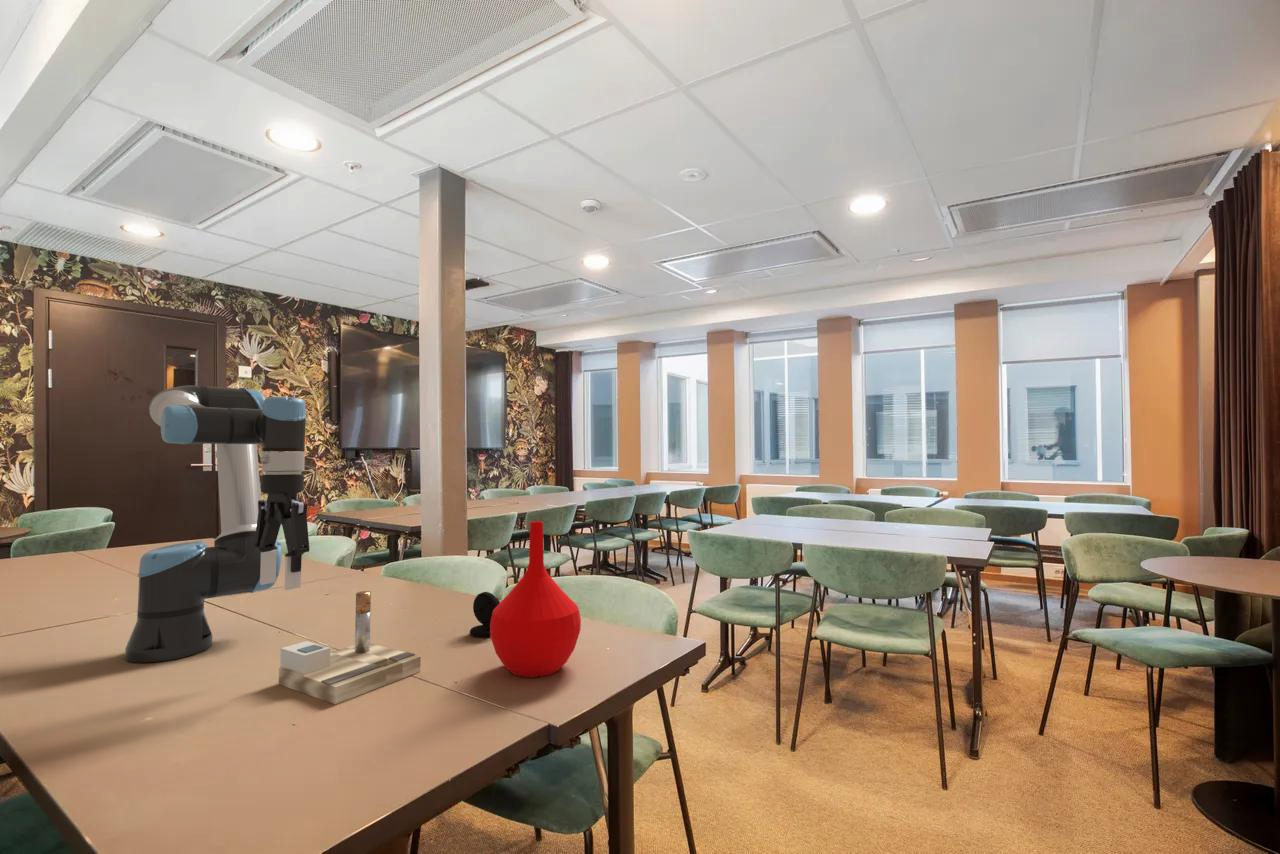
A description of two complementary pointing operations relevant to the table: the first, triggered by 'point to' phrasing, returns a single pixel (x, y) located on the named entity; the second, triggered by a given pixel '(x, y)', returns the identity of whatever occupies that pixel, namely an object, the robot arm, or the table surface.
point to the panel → (352, 673)
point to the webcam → (483, 613)
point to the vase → (535, 619)
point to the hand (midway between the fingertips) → (280, 585)
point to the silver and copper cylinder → (362, 622)
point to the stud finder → (305, 657)
